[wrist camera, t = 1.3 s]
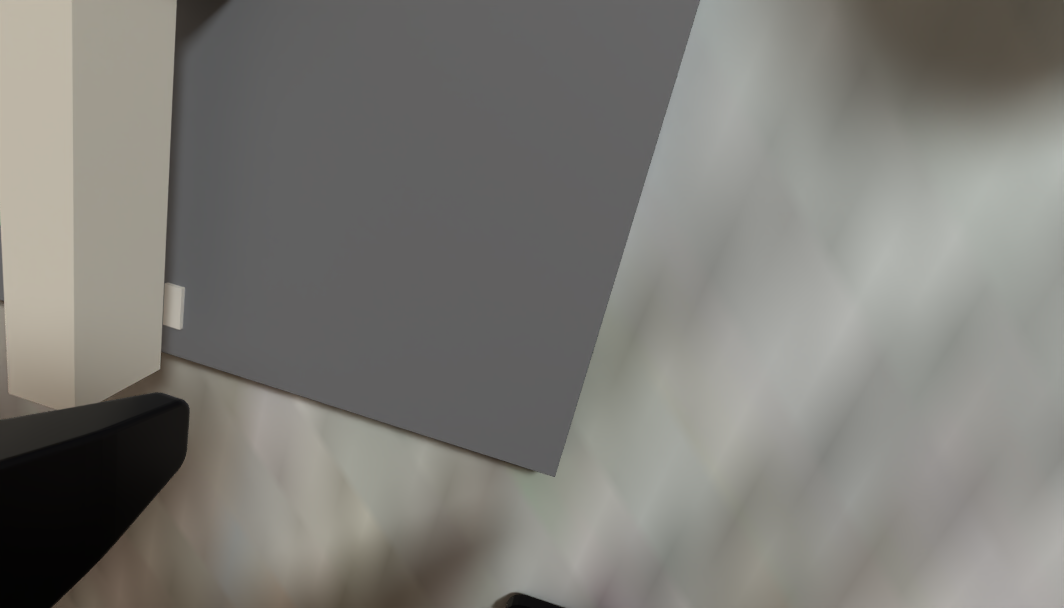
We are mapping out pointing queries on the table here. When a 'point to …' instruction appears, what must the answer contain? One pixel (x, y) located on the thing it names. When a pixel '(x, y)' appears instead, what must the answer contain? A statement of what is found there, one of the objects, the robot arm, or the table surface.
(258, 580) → the table surface
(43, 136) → the beige and tan rod
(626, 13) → the grey flat square plate
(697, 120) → the table surface
